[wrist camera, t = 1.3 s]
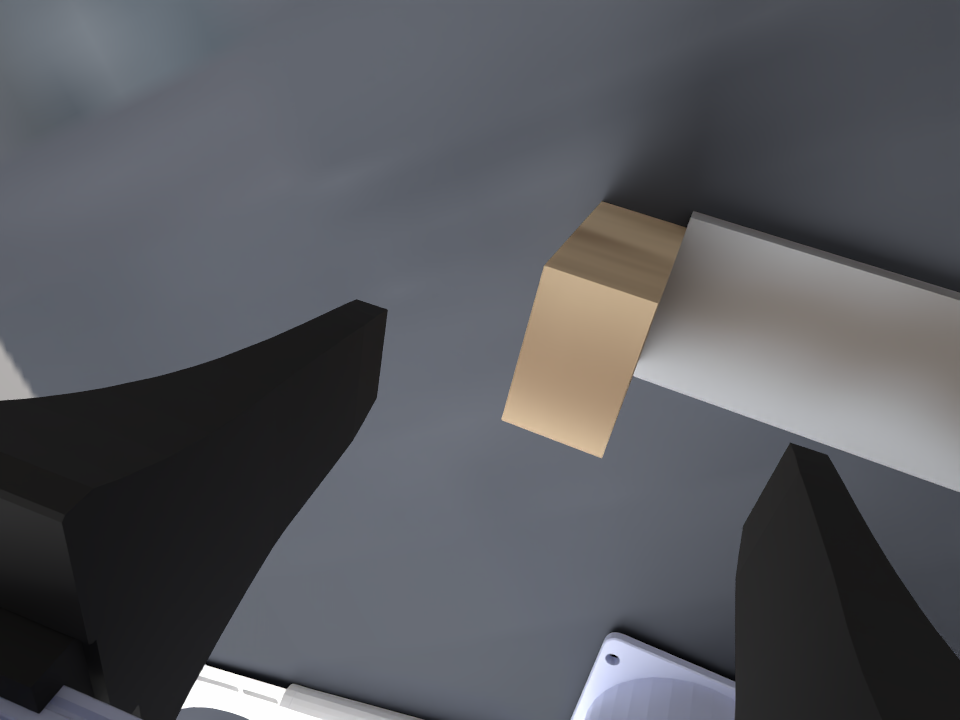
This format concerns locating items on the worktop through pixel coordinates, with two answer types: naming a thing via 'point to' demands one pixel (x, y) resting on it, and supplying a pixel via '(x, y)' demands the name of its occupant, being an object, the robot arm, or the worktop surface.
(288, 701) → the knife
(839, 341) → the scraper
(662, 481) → the worktop surface
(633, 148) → the worktop surface
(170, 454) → the robot arm
